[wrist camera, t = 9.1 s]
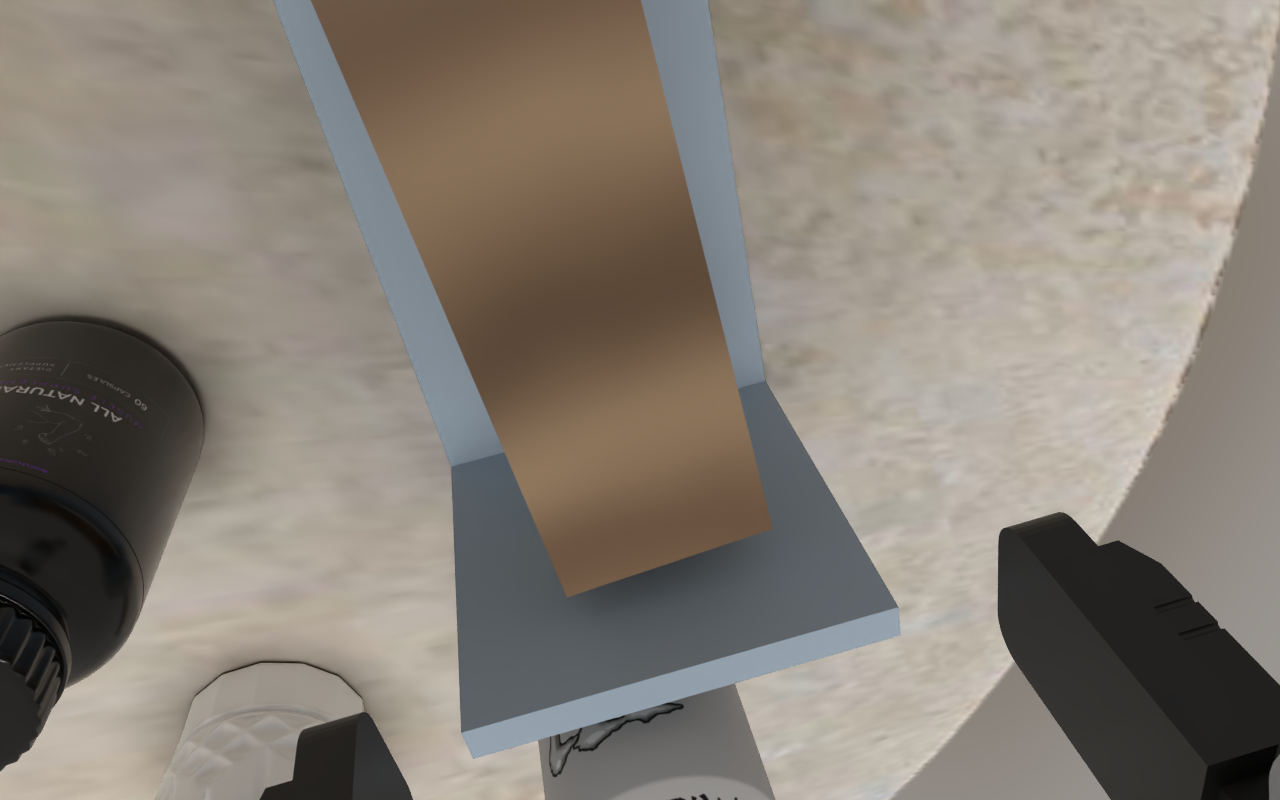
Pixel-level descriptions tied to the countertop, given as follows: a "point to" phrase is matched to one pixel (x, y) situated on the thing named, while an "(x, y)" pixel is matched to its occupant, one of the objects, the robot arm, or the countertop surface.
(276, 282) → the countertop surface
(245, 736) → the white cup
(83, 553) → the supplement bottle
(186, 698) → the countertop surface
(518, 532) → the peg stand
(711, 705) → the energy drink can
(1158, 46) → the countertop surface
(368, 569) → the countertop surface
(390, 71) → the walnut board
